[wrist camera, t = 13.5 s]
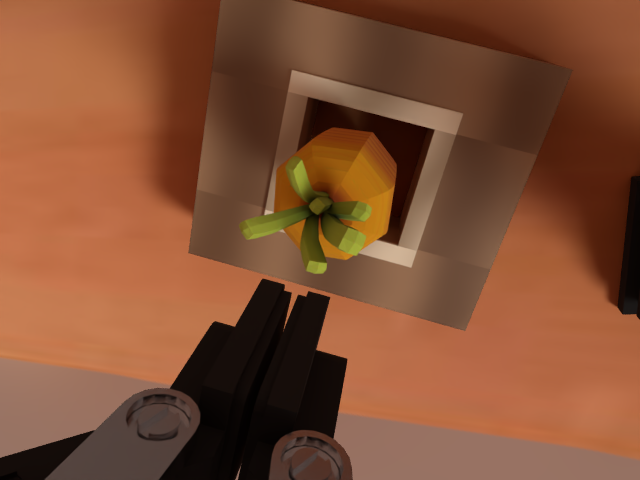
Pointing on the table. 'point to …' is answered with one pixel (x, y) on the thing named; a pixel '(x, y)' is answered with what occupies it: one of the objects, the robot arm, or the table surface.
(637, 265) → the chess piece
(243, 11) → the seat block
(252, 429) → the robot arm
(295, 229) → the carrot
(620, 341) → the table surface
